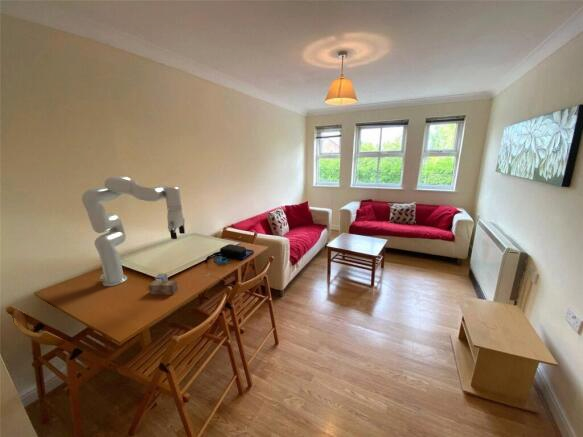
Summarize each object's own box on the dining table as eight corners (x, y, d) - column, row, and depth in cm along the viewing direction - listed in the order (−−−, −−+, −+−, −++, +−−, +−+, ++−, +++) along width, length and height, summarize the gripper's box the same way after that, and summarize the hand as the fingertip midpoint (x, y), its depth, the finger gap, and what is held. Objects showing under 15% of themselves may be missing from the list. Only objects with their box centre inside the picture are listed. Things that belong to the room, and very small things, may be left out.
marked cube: (155, 285, 147) (154, 277, 146) (160, 280, 152) (159, 273, 151) (163, 285, 147) (162, 277, 146) (168, 280, 152) (167, 273, 151)
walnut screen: (150, 294, 138) (148, 285, 136) (155, 289, 143) (153, 280, 141) (173, 294, 137) (172, 285, 136) (178, 289, 142) (176, 280, 140)
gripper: (175, 205, 146) (179, 231, 150) (159, 211, 129) (164, 241, 134) (187, 205, 146) (190, 231, 150) (173, 211, 129) (177, 241, 133)
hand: (178, 236), depth 142 cm, fingers open, 9 cm apart
